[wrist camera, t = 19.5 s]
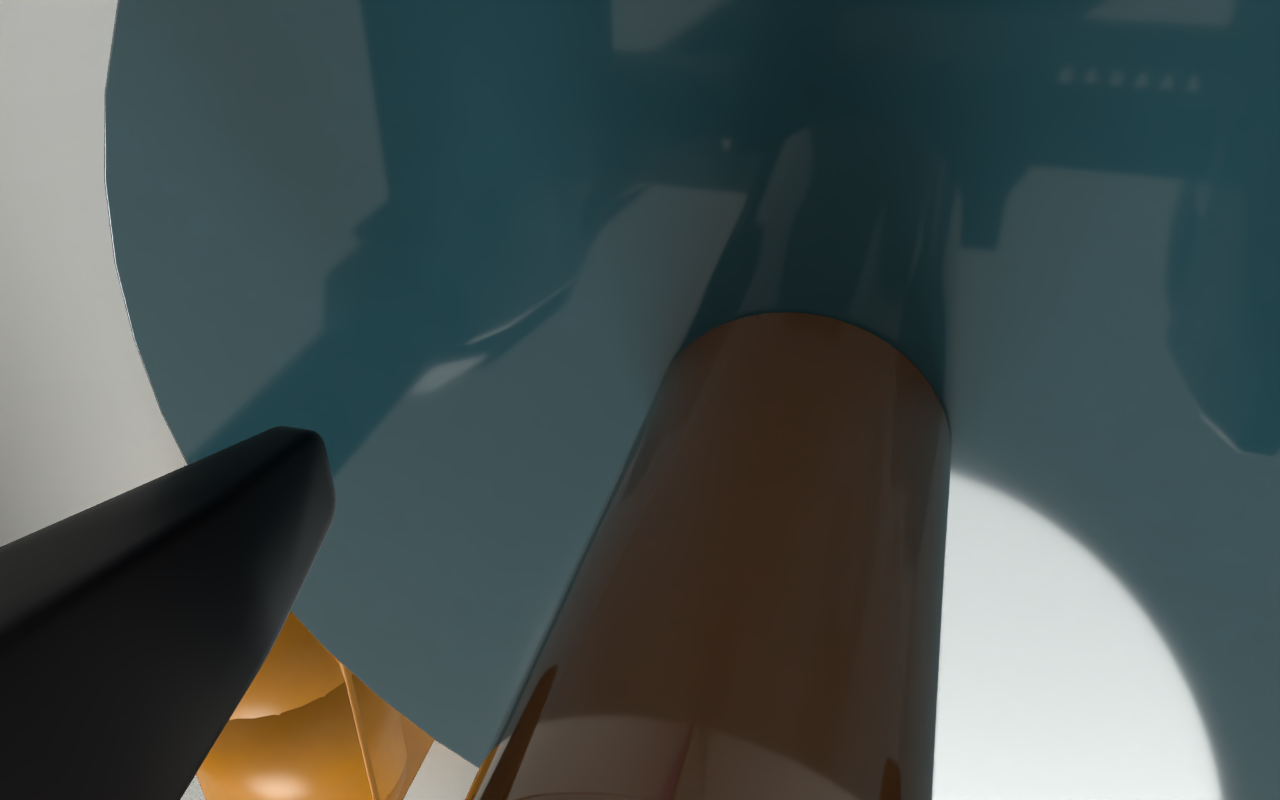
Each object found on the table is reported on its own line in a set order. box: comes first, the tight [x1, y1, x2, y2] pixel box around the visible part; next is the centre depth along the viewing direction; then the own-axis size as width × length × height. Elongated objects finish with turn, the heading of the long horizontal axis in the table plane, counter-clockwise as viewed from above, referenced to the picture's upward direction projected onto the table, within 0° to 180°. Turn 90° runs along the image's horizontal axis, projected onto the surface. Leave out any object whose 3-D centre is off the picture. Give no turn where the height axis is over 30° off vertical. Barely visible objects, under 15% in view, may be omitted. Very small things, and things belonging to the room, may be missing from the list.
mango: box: [196, 611, 434, 800], centre depth 23 cm, size 8×4×5 cm, turn 1°
